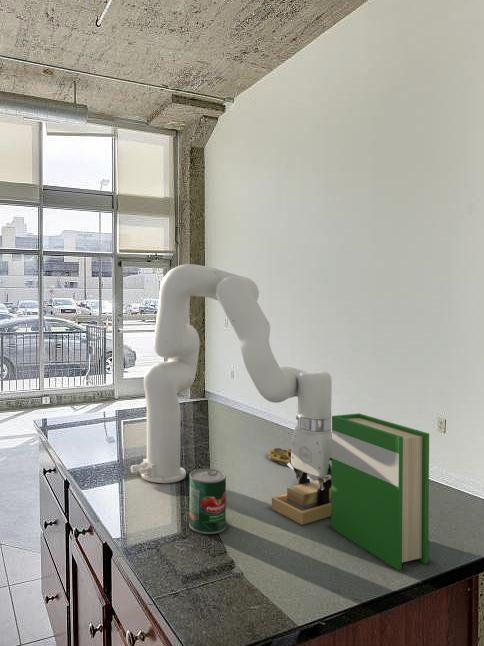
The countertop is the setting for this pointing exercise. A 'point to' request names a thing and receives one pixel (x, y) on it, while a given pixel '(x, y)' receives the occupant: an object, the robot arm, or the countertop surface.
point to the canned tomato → (207, 501)
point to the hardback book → (381, 487)
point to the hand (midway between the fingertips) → (313, 500)
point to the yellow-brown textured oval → (280, 456)
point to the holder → (298, 515)
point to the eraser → (304, 495)
